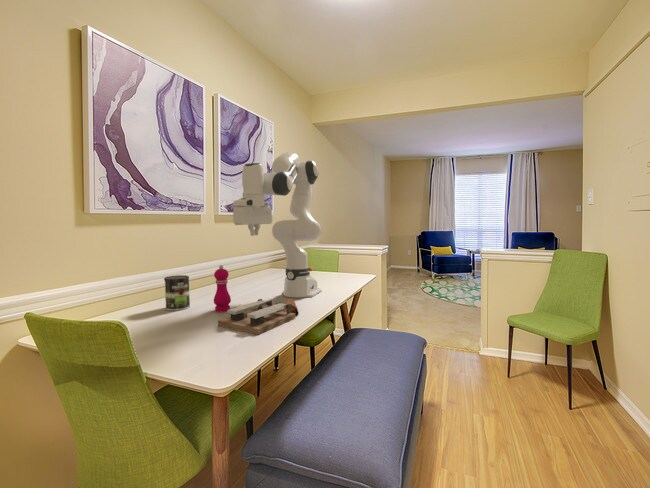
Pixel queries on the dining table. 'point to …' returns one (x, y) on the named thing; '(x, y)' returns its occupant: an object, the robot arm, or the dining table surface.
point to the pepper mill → (221, 290)
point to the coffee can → (177, 292)
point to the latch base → (257, 328)
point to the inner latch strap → (247, 307)
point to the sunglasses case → (293, 306)
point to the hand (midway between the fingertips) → (254, 235)
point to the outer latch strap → (266, 310)
